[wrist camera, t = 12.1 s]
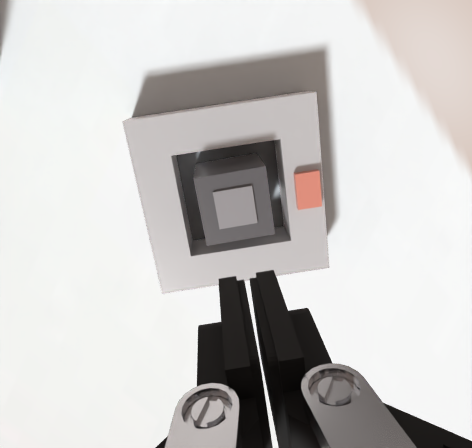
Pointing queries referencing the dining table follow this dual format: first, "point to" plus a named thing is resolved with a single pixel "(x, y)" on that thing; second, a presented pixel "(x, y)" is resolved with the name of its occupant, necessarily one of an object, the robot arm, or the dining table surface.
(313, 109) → the socket plate
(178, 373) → the dining table surface
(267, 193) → the plug
